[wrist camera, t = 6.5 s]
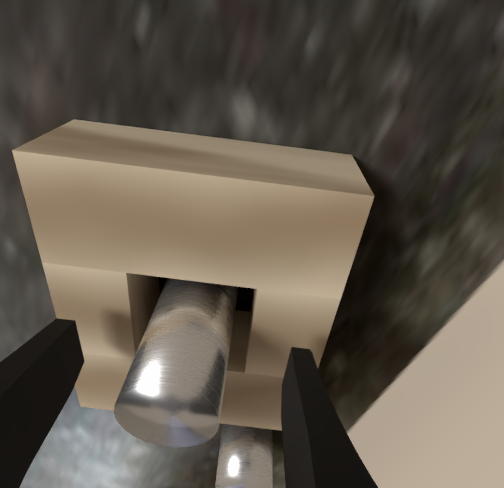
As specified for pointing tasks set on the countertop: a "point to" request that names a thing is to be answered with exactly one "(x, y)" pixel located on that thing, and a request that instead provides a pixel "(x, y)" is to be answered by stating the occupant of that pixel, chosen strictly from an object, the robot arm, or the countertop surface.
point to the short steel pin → (244, 457)
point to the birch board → (192, 245)
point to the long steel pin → (180, 366)
